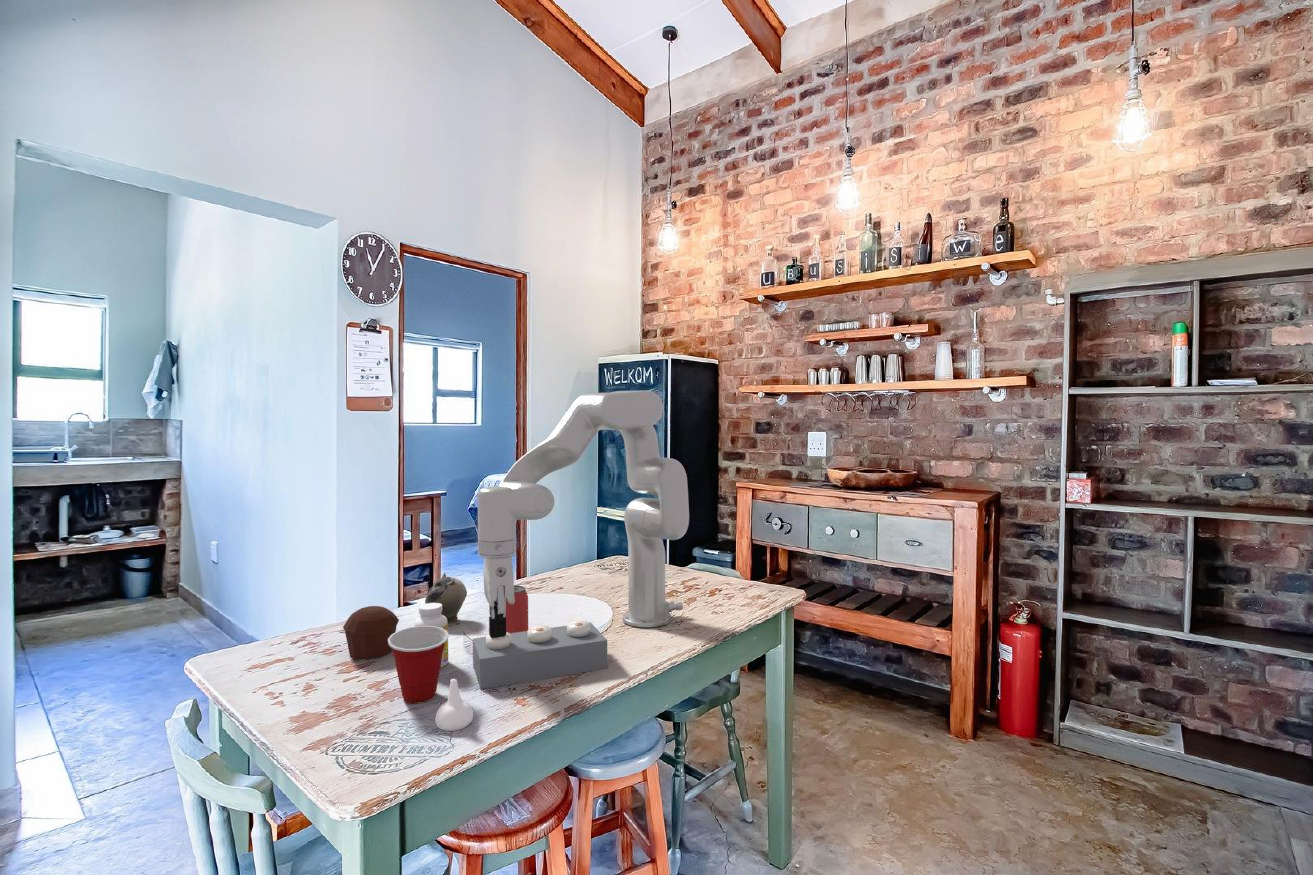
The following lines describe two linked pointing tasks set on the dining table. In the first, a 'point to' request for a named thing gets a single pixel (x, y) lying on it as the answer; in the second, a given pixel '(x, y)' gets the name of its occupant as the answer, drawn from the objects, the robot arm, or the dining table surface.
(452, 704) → the garlic bulb
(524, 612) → the beer can
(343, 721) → the dining table surface
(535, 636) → the knob middle
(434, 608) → the supplement bottle
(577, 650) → the console
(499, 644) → the knob
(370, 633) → the muffin
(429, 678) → the plastic cup
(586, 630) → the knob
